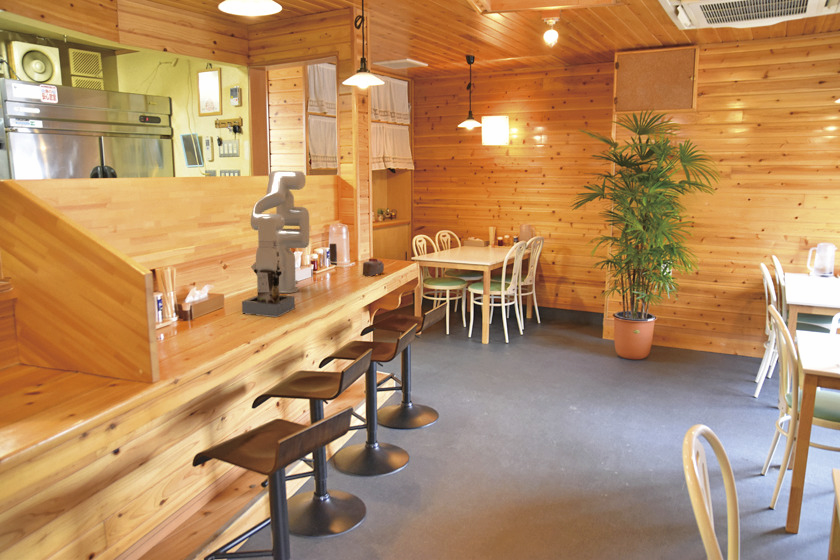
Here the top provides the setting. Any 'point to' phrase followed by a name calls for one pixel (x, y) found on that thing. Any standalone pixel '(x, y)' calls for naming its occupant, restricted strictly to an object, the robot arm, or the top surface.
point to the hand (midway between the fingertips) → (268, 284)
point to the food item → (373, 267)
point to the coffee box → (267, 287)
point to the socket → (268, 306)
